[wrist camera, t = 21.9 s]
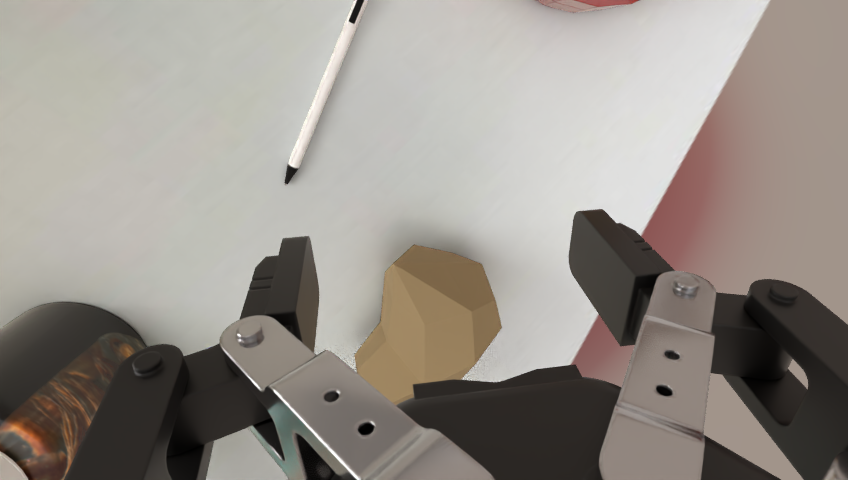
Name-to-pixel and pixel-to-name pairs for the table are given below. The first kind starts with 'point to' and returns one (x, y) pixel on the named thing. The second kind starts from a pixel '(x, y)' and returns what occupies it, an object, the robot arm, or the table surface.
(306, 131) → the pen
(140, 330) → the table surface
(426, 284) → the low-poly potato
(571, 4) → the bowl
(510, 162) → the table surface
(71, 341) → the jar
